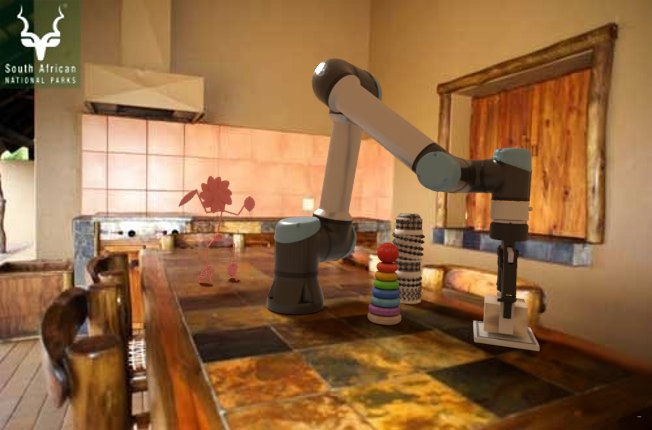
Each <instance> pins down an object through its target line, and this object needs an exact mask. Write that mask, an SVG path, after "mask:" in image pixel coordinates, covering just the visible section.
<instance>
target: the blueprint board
mask: <svg viewBox="0 0 652 430" xmlns="http://www.w3.org/2000/svg"><path fill="white" fill-rule="evenodd" d="M472 321H473V322H472V323H473V324H472V327H473V341H474V343H477V344H478V343H479V344H486V345H493V346H501V347H508V348H515V349H522V350H530V351H535V352H540V344H539V342H538V340H537V339H536V337H535V334H534V332H533V331H532V329H531V327H528V326H527V329H526V337H521V336H515V335H508V334H501V333H494V332H487V331H484V321H481V320H479V321H478V320H472Z"/></svg>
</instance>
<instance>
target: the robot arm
mask: <svg viewBox="0 0 652 430" xmlns="http://www.w3.org/2000/svg"><path fill="white" fill-rule="evenodd" d="M311 88H312V92H313V94H314V96H315V97H316V98H317V100H318V101H320V102H321V103H322V104H323V105H325V106H326V107H327V108H328V109H329V112H328V117H329V118H330V120H331V121H332V125H331V132H330V133H331V134H330V138H329V145H328V150H327V158H326V164H325V170H324V177H323V182H322V189H321V193H320V201H319V207H317V208H316V209H315V210H313V212H312V215H311V216H308V215H307V216H297V217H296V216H294V217H285V218H283V219H281V220H279V221H278V222H277V223H276V224H275V228H274V229H275V231H274V237H273V239H274V249H273V250H274V261H273V262H274V263H273V264H274V265H273V267H274V268H273V279H272V282H271V285H270V287H269V291H268V293H267V297H266V308H267V310H270V311H272V312H274V313H279V314H285V315H305V314H306V315H307V314H312V313H317V312H318V313H319V312H320V311H322V310H323V309H324V308H325V297H324V294H323V293H324V292H323V290H322V289H323V288H322V286H321V283H320V280H319V279H320V278H319V272H320V271H319V268H320V264H321V263H322V264H323V263H328V262H336V261H340V260H342V259H344V258H347V257H348V256H350V255H351V253H352V252H353V250H354V249H355V247H356V245H357V232H356V230H355V227H354V225H353V221H354V218H353V216H352V215H351V213H350V206H351V200H352V196H353V189H354V184H355V178H356V172H357V165H358V161H359V155H360V149H361V145H362V144H361V143H362V137H363V132H365V133H366V135H368V136H369V137H371V139H373V140H374V141H375V142H377V144H379V145H380V146H381V147H383V148H384V149H385V150H386V151H388V152H389V154H391V155H392V156H393V157H395V159H397V160H398V161H399V162H401V163H402V164H403V165H405V167H407V168H408V169H409V170H410V171H412V172H413V173H414V174H415V175H416V177H417V181H418V182H419V184H420V185H421V186H422V187H423V188H425V189H428V190H430V191H432V192H437V193H439V192H440V193H447V194H490V195H491V199H490V212H489V213H490V216H489V219H491V220H492V221H491V222H490V223H489V238H490V239H491V240H493V241H500V244H498V246H497V248H496V256H497V259H496V260H497V261H496V264H497V273H496V274H497V276H496V283H495V285H496V290H497V291H496V296H501V298H497V302H500V308H499V327H498V332H499V333H504V334H512V335H513V325H514V306H515V302H516V301H517V298H518V297H517V282H518V281H517V280H518V275H517V274H518V259H519V256H520V255H519V254H520V250H519V249H518V248H516V242H527V241H528V240H529V230H530V229H529V226H530V225H529V224H528V223H526V222H528V221H529V219H530V213H529V212H533V206H530V202H531V189H532V176H533V168H532V167H533V166H532V163H533V162H532V161H533V160H532V158H533V157H532V152H531V151H530V150H529V149H527V148H525V147H524V148H523V147H505V148H497V149H494V151H493V156H492V158H488V159H487V158H485V159H466V158H462V157H459V156H455V155H454V154H452V153H450V152H449V151H448V150H446V149H445V148H444V147H443V146H441V145H440V144H438V143H437V142H436V141H434V140H433V139H432V138H431V137H430V136H428V135H426V134H425V133H424V132H423V131H422V130H420V129H418V128H417V127H416V126H415V125H414V124H412V123H411V122H409V121H408V120H407V119H405V118H404V117H403V116H401V115H400V114H399V113H397V112H396V111H395V110H393V109H392V108H391V107H390V106H388V105H387V104H385V103H384V102H383V101H382V100H383V99H382V98H383V91H382V86H381V84H380V82H379V81H378V79H377V77H376V76H374V75H373V74H372V73H371V72H369V71H367V70H366V69H362V68H360V67H358V66H357V65H354V64H352V63H351V62H349V61H346V60H345V59H343V58H337V57H336V58H334V57H333V58H329V59H326V60H324V61H322V62H320V63H319V64H318V66H317V67H316V69H314V72H313V74H312V78H311Z"/></svg>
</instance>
